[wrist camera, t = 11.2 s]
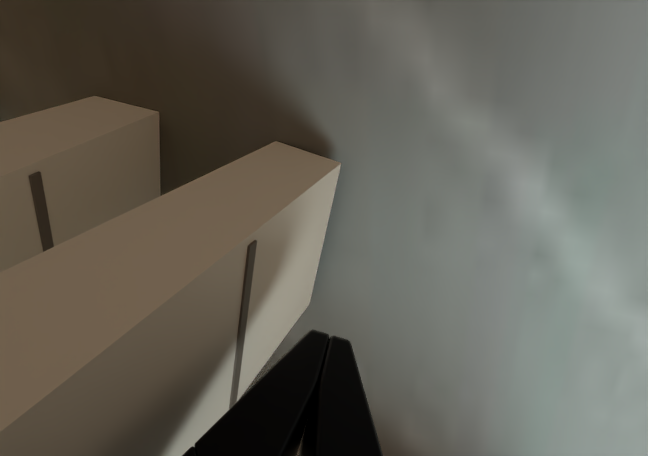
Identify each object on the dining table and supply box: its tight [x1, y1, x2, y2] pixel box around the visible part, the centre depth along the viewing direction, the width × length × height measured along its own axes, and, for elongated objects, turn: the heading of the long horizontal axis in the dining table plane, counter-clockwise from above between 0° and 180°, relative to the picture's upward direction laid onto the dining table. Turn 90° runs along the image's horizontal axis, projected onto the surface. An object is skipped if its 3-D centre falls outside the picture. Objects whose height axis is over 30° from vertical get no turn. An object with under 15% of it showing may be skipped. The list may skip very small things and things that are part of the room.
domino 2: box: [0, 141, 341, 456], centre depth 9 cm, size 2×5×9 cm, turn 169°
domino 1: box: [0, 96, 161, 272], centre depth 9 cm, size 2×5×9 cm, turn 169°
